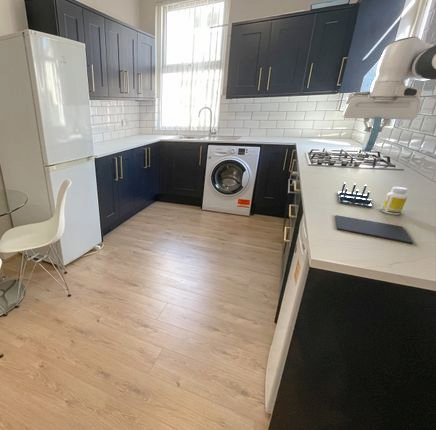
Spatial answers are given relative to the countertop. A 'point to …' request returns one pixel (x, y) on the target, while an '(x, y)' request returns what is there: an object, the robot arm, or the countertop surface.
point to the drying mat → (372, 229)
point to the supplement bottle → (395, 201)
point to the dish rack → (354, 197)
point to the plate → (371, 134)
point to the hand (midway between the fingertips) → (372, 131)
